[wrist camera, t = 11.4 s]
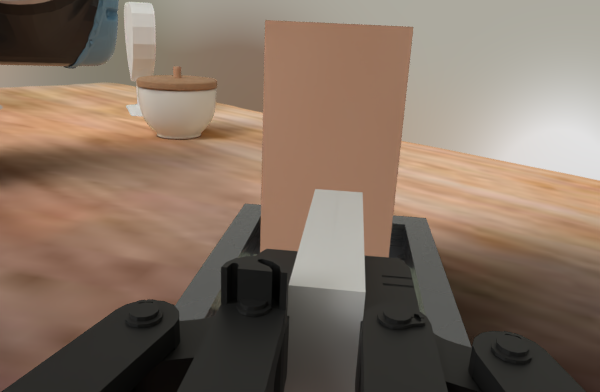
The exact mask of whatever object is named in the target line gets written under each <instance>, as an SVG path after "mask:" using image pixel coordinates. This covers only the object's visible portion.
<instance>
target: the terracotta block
mask: <svg viewBox="0 0 600 392" xmlns="http://www.w3.org/2000/svg"><path fill="white" fill-rule="evenodd" d="M412 36H413V27H403V26H402V27H401V26H381V25H358V24H337V23H315V22H314V23H313V22H292V21H270V20H266V21H265V55H264V56H265V57H264V99H263V143H262V187H261V232H260V252H262V251H264V250H265V249H277V250H289V251H298V249H299V246H300V242H301V239H302V235H303V231H304V228H305V224H306V221H307V217H308V213H309V210H310V206H311V203H312V199H313V195H314V192H315V189H323V190H336V191H350V192H363V223H364V255H365V256H376V257H388V258H389V249H390V239H391V230H392V221H393V212H394V202H395V193H396V184H397V175H398V165H399V156H400V147H401V137H402V128H403V119H404V110H405V100H406V91H407V82H408V73H409V63H410V54H411V44H412Z"/></svg>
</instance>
